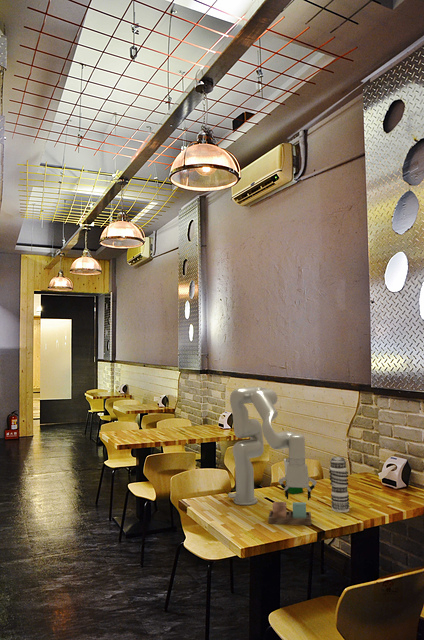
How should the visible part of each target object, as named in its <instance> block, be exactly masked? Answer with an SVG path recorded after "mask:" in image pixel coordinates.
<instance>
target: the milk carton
mask: <svg viewBox="0 0 424 640" xmlns="http://www.w3.org/2000/svg"><path fill="white" fill-rule="evenodd" d="M286 459H287V458H283V464H284V475H285V476H286V473H287V464H289V463H288V462H286ZM285 476H284V477H285ZM286 485H287V483H286V482H285V486H286ZM303 489H304V488H295V487H289V488H288V494H291V495H297V494H301V493H304V490H303Z"/></svg>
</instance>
